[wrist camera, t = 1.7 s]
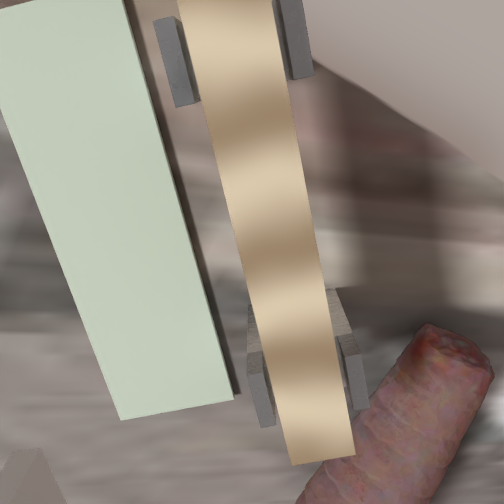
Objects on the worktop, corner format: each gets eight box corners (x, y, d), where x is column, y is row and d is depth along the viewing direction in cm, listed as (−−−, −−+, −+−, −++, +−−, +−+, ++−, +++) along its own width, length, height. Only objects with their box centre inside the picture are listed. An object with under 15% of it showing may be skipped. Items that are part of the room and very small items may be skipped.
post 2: (247, 305, 38) (246, 375, 29) (334, 288, 37) (361, 353, 29) (258, 348, 39) (260, 427, 30) (342, 332, 39) (370, 408, 30)
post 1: (180, 37, 31) (152, 21, 22) (285, 11, 31) (299, -16, 22) (196, 100, 33) (175, 107, 24) (297, 76, 32) (314, 75, 23)
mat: (-30, 19, 31) (-35, 18, 30) (118, -19, 30) (115, -21, 30) (122, 415, 42) (120, 420, 41) (234, 394, 41) (234, 399, 40)
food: (375, 514, 46) (402, 611, 38) (283, 488, 45) (290, 583, 36) (485, 331, 39) (548, 401, 31) (379, 295, 38) (415, 358, 30)
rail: (179, -24, 24) (166, -43, 20) (257, -44, 24) (258, -67, 20) (287, 422, 33) (291, 465, 30) (343, 411, 33) (356, 454, 29)
